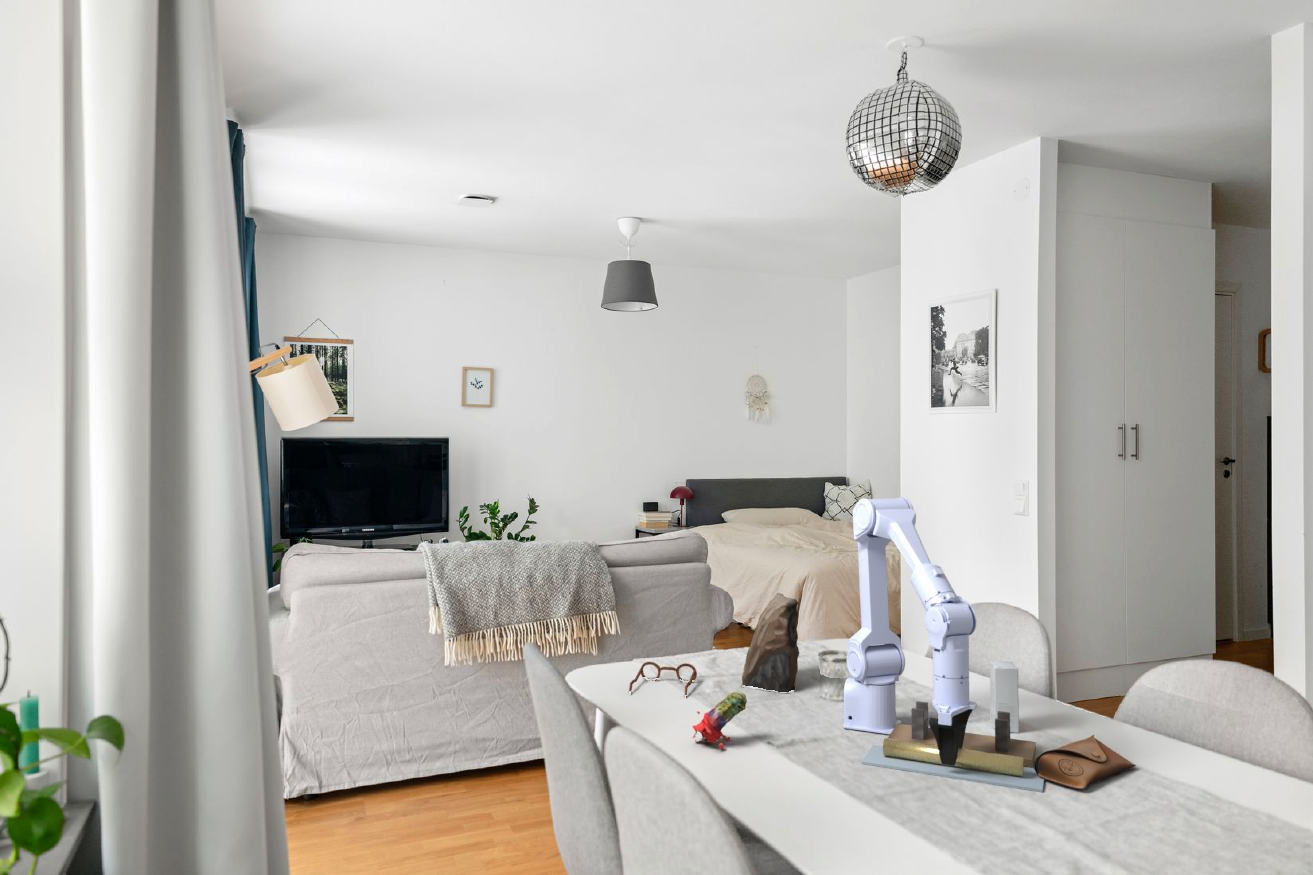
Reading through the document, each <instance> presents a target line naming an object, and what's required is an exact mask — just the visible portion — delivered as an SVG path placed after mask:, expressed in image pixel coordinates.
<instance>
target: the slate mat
mask: <svg viewBox="0 0 1313 875" xmlns="http://www.w3.org/2000/svg"><path fill="white" fill-rule="evenodd" d="M861 764H862V765H867V766H874V767H881V768H886V769H893V770H899V771H905V772H912V773H919V774H924V775H933V776H937V777H944V778H949V779H955V780H956V779H958V780H963V781H970V782H976V783H982V784H988V785H994V786H995V785H996V786H1001V787H1008V788H1013V789H1021V790H1026V791H1033V792H1038V793H1039V792H1040V793H1043V791H1044V785H1045V784H1044V783H1045V779H1044V778H1041V777H1039V776H1038V775H1037V773H1036V771H1035V770H1034V767H1033V768H1032V767H1025V766H1024V776H1023V777H1019V776H1012V775H1006V774H999V773H993V772H986V771H980V770H973V769H966V768H960V767H953V766H947V765H940V764H934V763H927V762H920V761H914V760H907V759H901V758H894V757H887V756H884V755H883V745H876V744H872V746H871V747H870V748H869V750H868V752H867V753H866V754H865V756H864V757H863V759H862V760H861Z"/></svg>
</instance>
